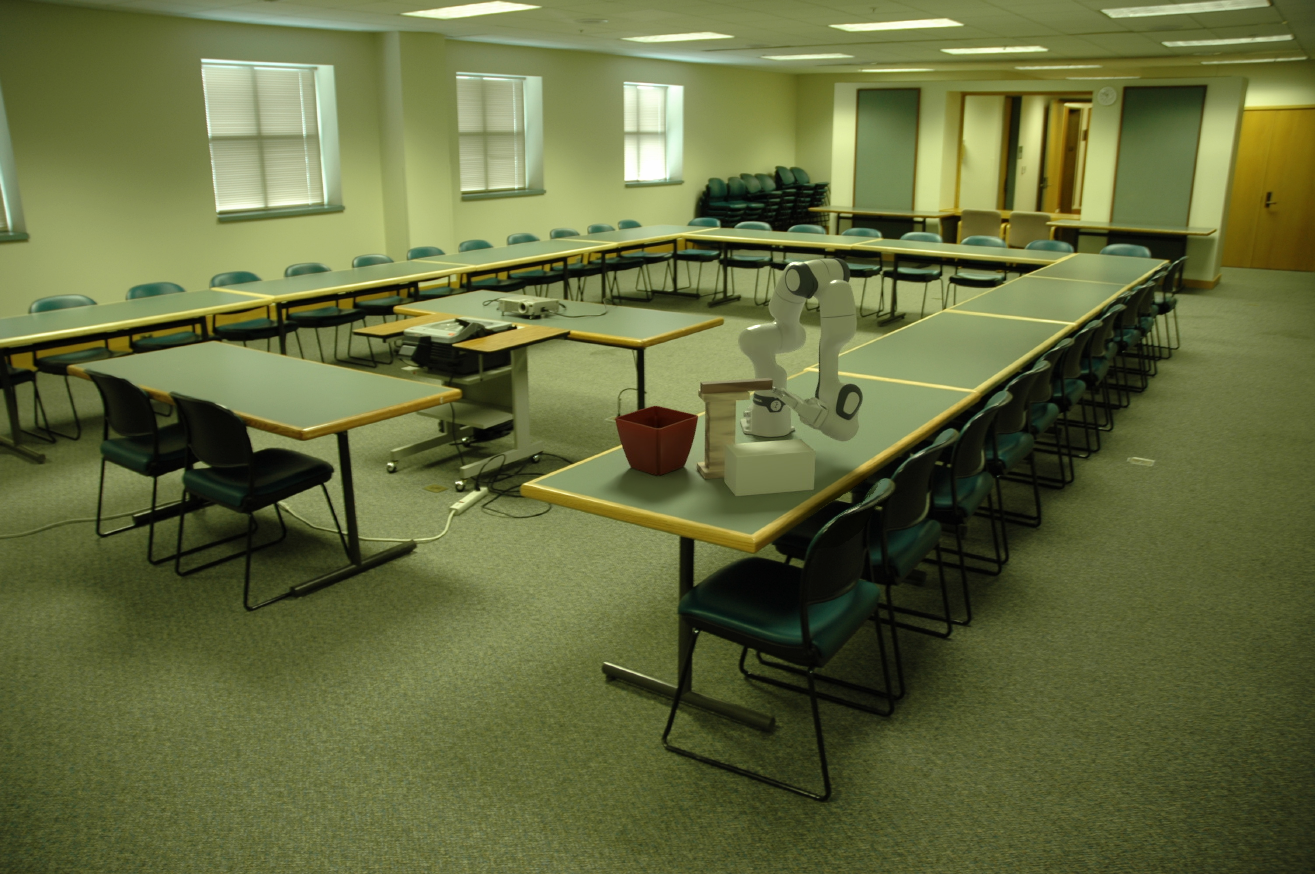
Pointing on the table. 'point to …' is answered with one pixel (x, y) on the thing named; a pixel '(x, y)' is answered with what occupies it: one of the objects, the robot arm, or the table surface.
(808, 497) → the table surface
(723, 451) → the wooden i-beam pillar
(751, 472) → the white rectangular block
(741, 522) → the table surface
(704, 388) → the walnut bar
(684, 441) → the plant pot
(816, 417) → the robot arm
